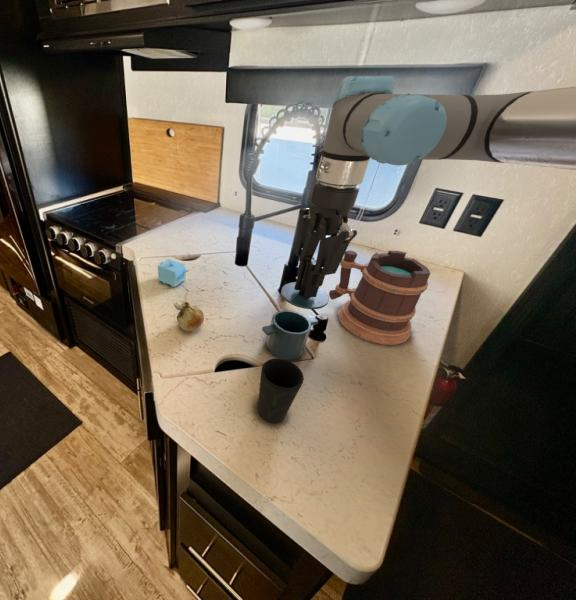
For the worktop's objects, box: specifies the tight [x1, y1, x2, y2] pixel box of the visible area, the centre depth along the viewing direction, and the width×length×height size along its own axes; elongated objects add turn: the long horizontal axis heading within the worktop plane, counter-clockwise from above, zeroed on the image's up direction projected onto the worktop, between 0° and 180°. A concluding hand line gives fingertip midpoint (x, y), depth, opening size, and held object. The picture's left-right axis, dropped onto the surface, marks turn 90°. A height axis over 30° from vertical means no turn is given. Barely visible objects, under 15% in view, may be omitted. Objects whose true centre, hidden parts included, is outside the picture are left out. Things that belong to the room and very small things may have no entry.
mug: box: [328, 250, 431, 346], centre depth 85 cm, size 18×23×20 cm
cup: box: [257, 357, 305, 424], centre depth 62 cm, size 8×8×12 cm
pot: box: [261, 309, 319, 361], centre depth 79 cm, size 9×15×8 cm, turn 108°
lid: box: [280, 258, 330, 310], centre depth 67 cm, size 10×10×9 cm
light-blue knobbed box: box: [157, 259, 190, 288], centre depth 105 cm, size 12×6×8 cm, turn 54°
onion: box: [173, 301, 205, 332], centre depth 85 cm, size 8×8×8 cm
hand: (305, 292), depth 69 cm, fingers closed on lid, 3 cm apart
